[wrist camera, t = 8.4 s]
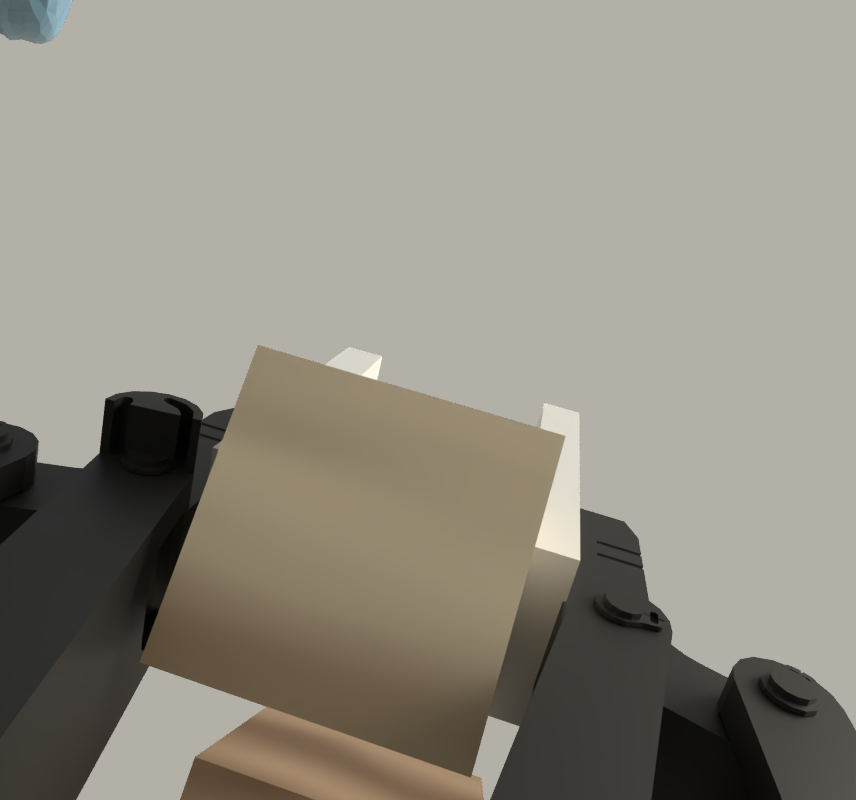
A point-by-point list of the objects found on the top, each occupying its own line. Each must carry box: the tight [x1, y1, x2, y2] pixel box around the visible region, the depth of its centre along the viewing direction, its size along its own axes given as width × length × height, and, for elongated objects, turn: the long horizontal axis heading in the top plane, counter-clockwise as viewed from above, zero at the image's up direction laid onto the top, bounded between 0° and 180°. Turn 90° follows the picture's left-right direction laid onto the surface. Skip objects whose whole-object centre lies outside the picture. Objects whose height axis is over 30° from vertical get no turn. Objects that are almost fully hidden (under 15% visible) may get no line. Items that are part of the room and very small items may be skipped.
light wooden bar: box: [140, 345, 566, 778], centre depth 18 cm, size 21×4×4 cm, turn 177°
